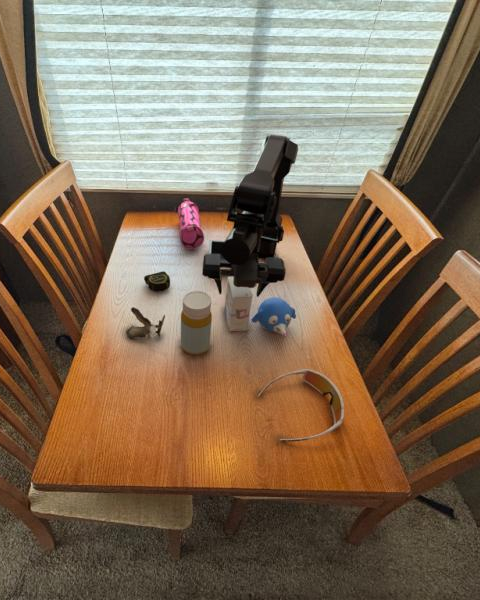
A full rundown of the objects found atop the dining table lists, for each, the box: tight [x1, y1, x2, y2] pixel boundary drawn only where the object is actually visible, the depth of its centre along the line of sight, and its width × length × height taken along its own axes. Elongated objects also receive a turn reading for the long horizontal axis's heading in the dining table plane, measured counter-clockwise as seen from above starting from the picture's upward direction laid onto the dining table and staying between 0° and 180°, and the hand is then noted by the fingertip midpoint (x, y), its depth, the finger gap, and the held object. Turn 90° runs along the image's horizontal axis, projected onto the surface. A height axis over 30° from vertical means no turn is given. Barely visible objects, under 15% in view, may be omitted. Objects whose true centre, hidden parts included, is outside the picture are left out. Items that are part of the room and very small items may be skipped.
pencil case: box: [173, 198, 205, 250], centre depth 116 cm, size 21×10×10 cm, turn 7°
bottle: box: [180, 290, 213, 356], centre depth 74 cm, size 7×7×15 cm
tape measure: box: [143, 271, 171, 293], centre depth 95 cm, size 7×7×4 cm
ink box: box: [224, 276, 254, 332], centre depth 82 cm, size 9×5×12 cm, turn 5°
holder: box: [208, 239, 234, 277], centre depth 104 cm, size 9×13×5 cm
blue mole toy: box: [251, 297, 297, 338], centre depth 81 cm, size 12×12×8 cm
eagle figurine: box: [125, 306, 166, 339], centre depth 80 cm, size 8×7×9 cm
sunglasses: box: [257, 368, 345, 442], centre depth 66 cm, size 14×15×5 cm
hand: (238, 294), depth 80 cm, fingers open, 9 cm apart
